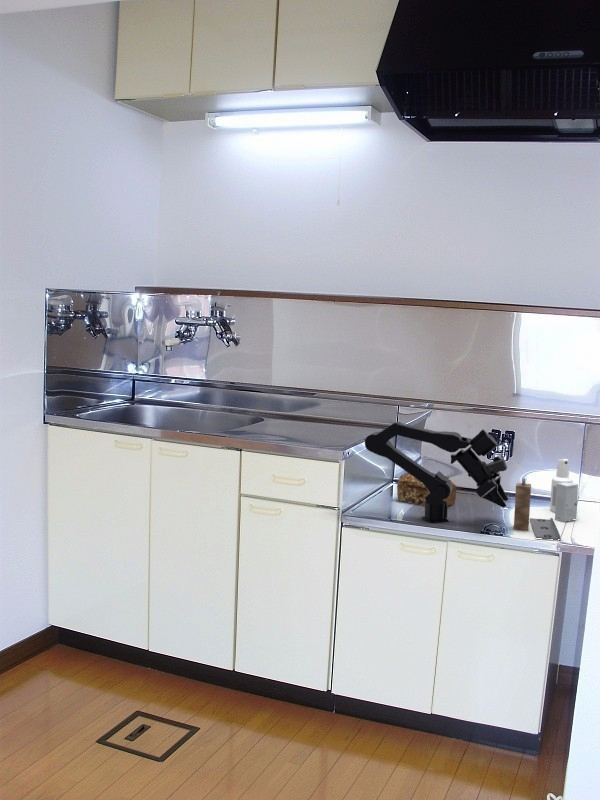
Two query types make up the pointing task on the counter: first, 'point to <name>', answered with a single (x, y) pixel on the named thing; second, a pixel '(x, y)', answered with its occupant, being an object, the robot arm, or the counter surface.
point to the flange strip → (544, 529)
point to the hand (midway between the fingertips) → (506, 503)
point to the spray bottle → (559, 480)
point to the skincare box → (566, 501)
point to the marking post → (522, 506)
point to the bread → (417, 491)
